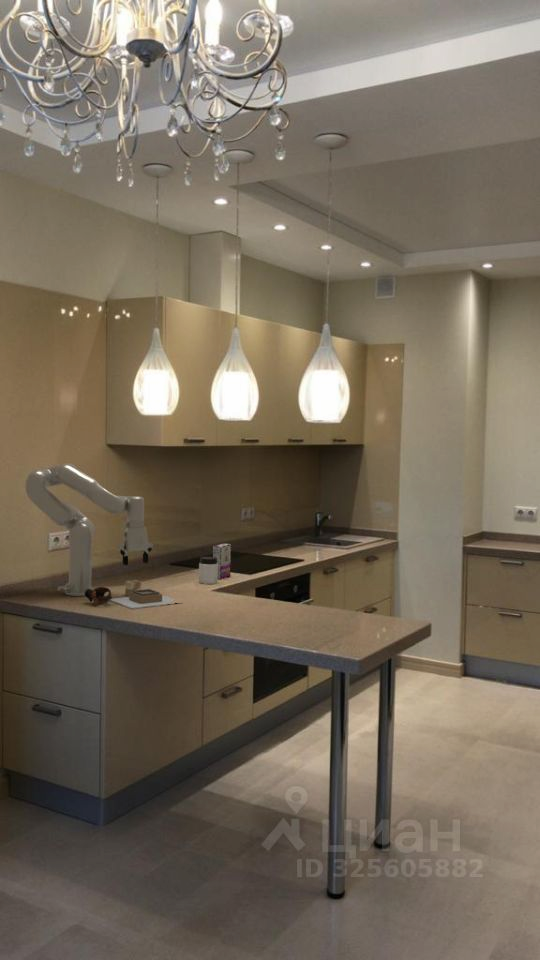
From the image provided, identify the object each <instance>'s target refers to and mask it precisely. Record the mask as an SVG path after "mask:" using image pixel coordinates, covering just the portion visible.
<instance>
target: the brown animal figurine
mask: <svg viewBox="0 0 540 960" xmlns="http://www.w3.org/2000/svg"><path fill="white" fill-rule="evenodd" d="M91 589H92V588H91ZM91 589H87V590H86V591H85V596H84V597H85V598H87V600H88V601H89V603H91V602H93V606H94V607H98V605H102V604H106V603H108V602H111V601H110V599H113V596H112V592H111V590H110V589H109V588H107V587H105V586H97V587H94V588H93V589H92V590H91ZM106 593H108V594H107V595H105V594H106Z"/></svg>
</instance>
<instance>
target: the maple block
mask: <svg viewBox="0 0 540 960" xmlns="http://www.w3.org/2000/svg"><path fill="white" fill-rule="evenodd" d="M124 588H125V591H124V592H125V595H126V596H127V597H129V593H130V592H132V591H136V590H142V581H140V580H137V579H134V580H133V579H132V580H125V587H124Z"/></svg>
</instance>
